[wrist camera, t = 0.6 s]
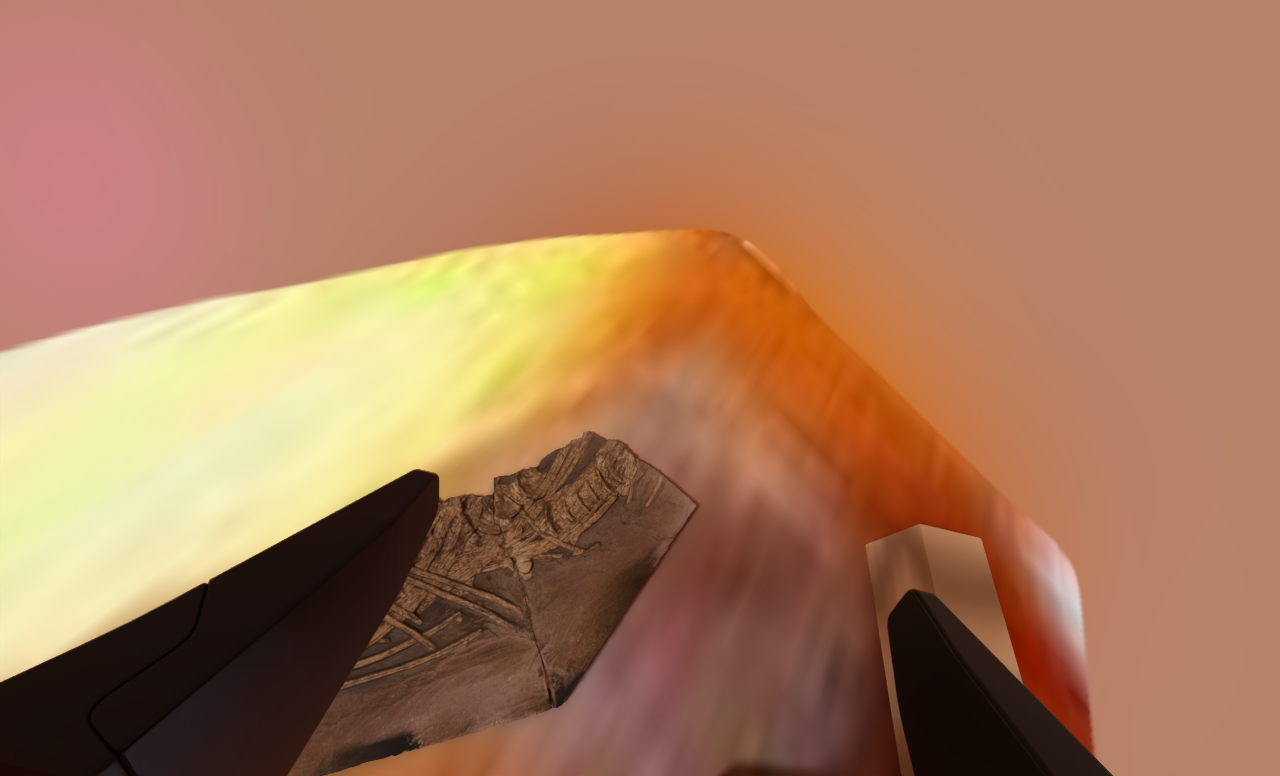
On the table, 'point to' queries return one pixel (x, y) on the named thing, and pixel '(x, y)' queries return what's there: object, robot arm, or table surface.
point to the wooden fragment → (503, 604)
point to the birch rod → (952, 576)
